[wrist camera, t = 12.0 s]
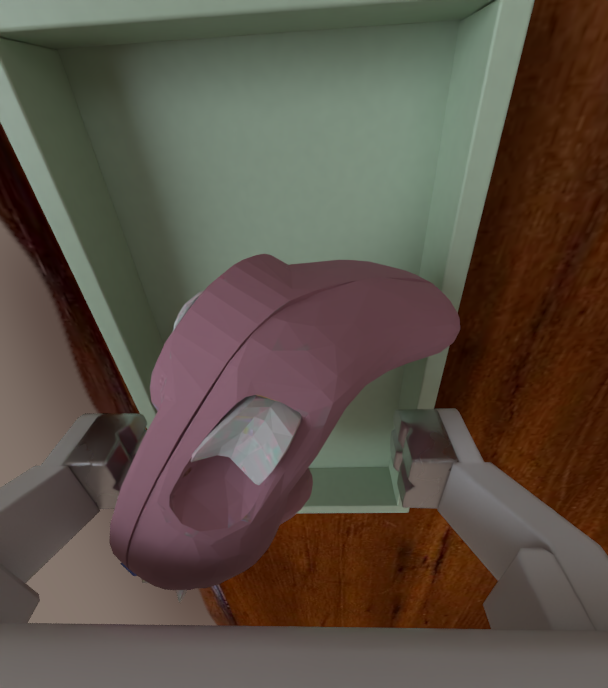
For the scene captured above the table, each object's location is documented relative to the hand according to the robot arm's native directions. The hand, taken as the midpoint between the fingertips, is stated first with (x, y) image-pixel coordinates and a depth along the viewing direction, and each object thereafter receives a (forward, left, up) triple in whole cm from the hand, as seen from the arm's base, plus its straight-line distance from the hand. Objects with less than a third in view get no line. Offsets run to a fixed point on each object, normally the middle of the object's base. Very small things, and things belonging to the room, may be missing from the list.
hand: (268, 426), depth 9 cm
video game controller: (0, 0, -2) cm, 2 cm away
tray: (0, 0, -5) cm, 5 cm away
